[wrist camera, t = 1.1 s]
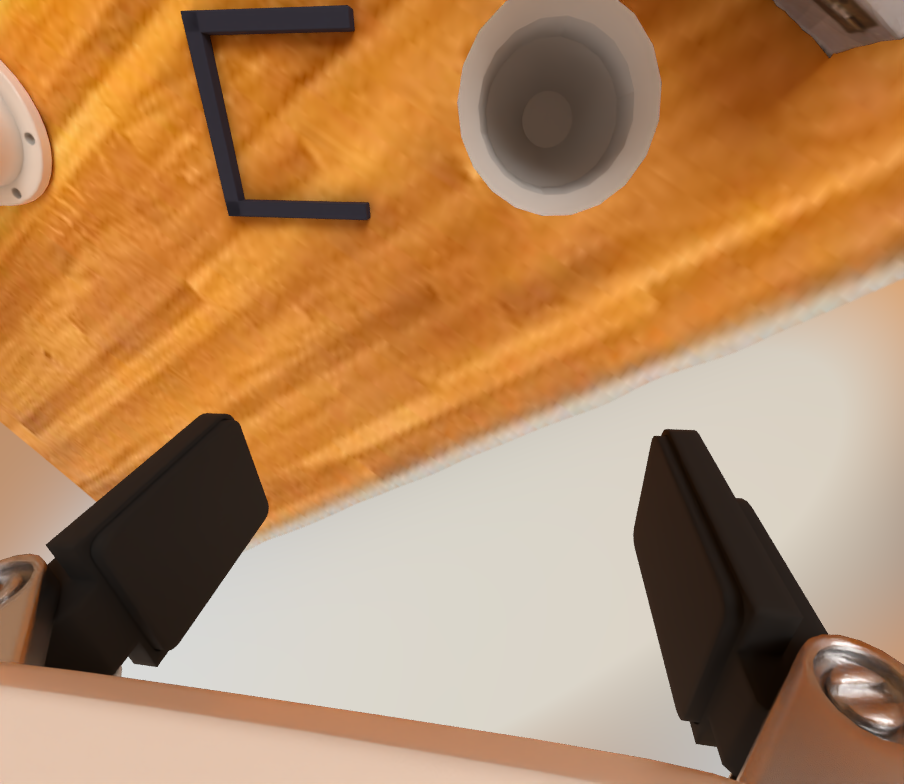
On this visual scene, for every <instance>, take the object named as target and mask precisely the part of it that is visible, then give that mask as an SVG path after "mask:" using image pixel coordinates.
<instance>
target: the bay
mask: <svg viewBox="0 0 904 784" xmlns="http://www.w3.org/2000/svg"><path fill="white" fill-rule="evenodd" d="M181 15H182V20H183V24H184V28H185V32H186V37H187V41H188V45H189V49H190V53H191V58H192V62H193V66H194V70H195V75H196V79H197V83H198V87H199V92H200V96H201V100H202V104H203V109H204V113H205V117H206V121H207V125H208V130H209V134H210V138H211V142H212V147H213V151H214V155H215V159H216V164H217V168H218V172H219V176H220V181H221V185H222V189H223V193H224V198H225V202H226V206H227V210H228V214H229V216H246V217H280V218H314V219H348V220H368V219H370V207H369V203H368V202H327V201H286V200H245V198H244V193H243V188H242V184H241V179H240V174H239V170H238V165H237V161H236V156H235V151H234V147H233V142H232V137H231V133H230V128H229V123H228V119H227V114H226V109H225V105H224V100H223V95H222V91H221V86H220V81H219V77H218V72H217V68H216V63H215V58H214V54H213V49H212V44H211V40H210V35H238V34H276V33H313V32H351V31H354V18H353V9H352V8H350V7H349V6H348V5H341V6H313V7H284V8H255V9H226V10H197V11H196V10H194V11H181Z"/></svg>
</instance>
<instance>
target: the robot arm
mask: <svg viewBox="0 0 904 784" xmlns="http://www.w3.org/2000/svg"><path fill="white" fill-rule="evenodd" d="M51 172H52V155H51V148H50V142H49V139H48V135H47V132H46V128H45V126H44V124H43V121H42V119H41V117H40V114H39V112H38V110H37V108H36V107H35V105H34V103H33V101H32V100H31V98H30V96H29V94H28V93H27V92H26V90H25V89H24V87H23V86H22V85H21V83H20V82H19V80H18V79H17V78H16V76H15V75H14V74H13V73H12V72H11V71H10V70H9V69H8V68H7V67H6V65H5V64H4V63H3V62H2V61H1V60H0V206H15V205H22V204H27V203H29V202H32V201H35V200H36V199H37V198H38V197H40V196H41V195H42V194H43V193H44V191H45V189H46V188H47V186H48V184H49V180H50V177H51ZM268 509H269V505H268V501H267V499H266V496H265V493H264V490H263V488H262V485H261V482H260V479H259V476H258V474H257V471H256V468H255V465H254V463H253V460H252V457H251V454H250V451H249V449H248V446H247V443H246V440H245V437H244V435H243V432H242V429H241V426H240V424H239V423H238V422H237V421H235V420H234V418H233V417H232V416H231V415H228V414H212V413H206V414H202V415H200V416H199V417H197V418H196V419H195V420H194V421H193V422H191V423H190V424H189V425H188V426H187V427H185V428H184V429H183V430H182V431H181V432H180V433H178V434H177V435H176V436H175V437H174V438H172V439H171V440H170V441H169V442H168V443H166V444H165V445H164V446H163V447H162V448H160V449H159V450H158V451H157V452H156V453H155V454H153V455H152V456H151V457H150V458H149V459H147V460H146V461H145V462H144V463H143V464H141V465H140V466H139V467H138V468H137V469H135V470H134V471H133V472H132V473H131V474H129V475H128V476H127V477H126V478H125V479H124V480H122V481H121V482H120V483H119V484H118V485H116V486H115V487H114V488H113V489H112V490H110V491H109V492H108V493H107V494H106V495H104V496H103V497H102V498H101V499H100V500H99V501H97V502H96V503H95V504H94V505H93V506H91V507H90V508H89V509H88V510H87V511H85V512H84V513H83V514H82V515H81V516H80V517H78V518H77V519H76V520H75V521H73V522H72V523H71V524H70V525H69V526H68V527H66V528H65V529H64V530H63V531H62V532H60V533H59V534H58V535H57V536H56V537H54V538H53V539H52V540H51V541H50V542H49V543H48V544H46V546H47V547H48V549H49V550H50V551H51V553H52V554H53V555H54V557H55V559H53V560H52V561H51V562H50V563H49V564H48V565H47V564H46V562H45V561H44V560H43V559H42V558H41V557H40V556H38V555H33V554H24V555H16V556H13V557H10V558H6V559H3V560H0V784H904V665H903V664H902V663H900V662H899V661H897V660H895V659H894V658H892V657H891V656H889V655H888V654H886V653H885V652H883V651H882V650H880V649H877V648H875V647H873V646H871V645H869V644H866V643H864V642H862V641H860V640H856V639H852V638H849V637H845V636H841V635H828V633H827V631H826V630H825V628H824V627H823V625H822V623H821V621H820V620H819V618H818V617H817V615H816V613H815V612H814V610H813V608H812V606H811V605H810V603H809V601H808V600H807V598H806V597H805V595H804V593H803V591H802V590H801V588H800V587H799V585H798V583H797V582H796V580H795V578H794V577H793V575H792V573H791V572H790V570H789V568H788V567H787V565H786V563H785V562H784V560H783V558H782V557H781V555H780V553H779V552H778V550H777V548H776V547H775V545H774V543H773V542H772V540H771V538H770V537H769V535H768V533H767V532H766V530H765V528H764V527H763V525H762V523H761V522H760V520H759V518H758V517H757V515H756V513H755V512H754V510H753V509H752V507H751V506H750V505H749V503H748V502H747V501H745V500H744V499H742V498H735V496H734V495H733V493H732V491H731V489H730V488H729V486H728V484H727V482H726V481H725V479H724V477H723V475H722V474H721V472H720V470H719V468H718V467H717V465H716V463H715V462H714V460H713V458H712V456H711V454H710V453H709V451H708V449H707V447H706V446H705V444H704V442H703V440H702V439H701V437H700V435H699V434H698V432H697V431H695V430H672V429H666V430H664V431H663V433H662V435H661V436H654V437H653V438H652V442H651V446H650V452H649V456H648V461H647V466H646V471H645V476H644V481H643V486H642V491H641V496H640V501H639V506H638V511H637V516H636V521H635V526H634V535H633V536H634V546H635V550H636V554H637V558H638V562H639V566H640V570H641V574H642V578H643V582H644V585H645V589H646V593H647V597H648V601H649V605H650V609H651V613H652V617H653V621H654V625H655V629H656V633H657V636H658V640H659V644H660V648H661V652H662V656H663V660H664V664H665V668H666V672H667V676H668V680H669V683H670V687H671V691H672V695H673V699H674V703H675V707H676V710H677V713H678V716H679V717H680V719H681V720H684V721H690V724H691V727H692V731H693V735H694V739H695V742H696V744H701V745H707V746H714V747H717V749H718V752H719V755H720V758H721V761H722V765H724V766H725V767H726V768H727V769H728V770H729V771H730V772H731V773H730V775H729V778H726V777H722V776H719V775H716V774H713V773H708V772H704V771H700V770H695V769H691V768H687V767H682V766H678V765H673V764H669V763H664V762H660V761H656V760H651V759H646V758H640V757H634V756H629V755H623V754H617V753H611V752H606V751H599V750H594V749H588V748H583V747H577V746H571V745H565V744H560V743H553V742H548V741H542V740H537V739H530V738H523V737H517V736H511V735H505V734H498V733H492V732H485V731H479V730H472V729H466V728H459V727H452V726H446V725H439V724H434V723H427V722H421V721H414V720H408V719H401V718H395V717H388V716H382V715H375V714H369V713H362V712H355V711H348V710H342V709H335V708H328V707H322V706H315V705H309V704H301V703H295V702H288V701H282V700H275V699H268V698H262V697H255V696H248V695H241V694H235V693H228V692H221V691H214V690H208V689H201V688H194V687H187V686H180V685H173V684H165V683H158V682H152V681H145V680H138V679H131V678H124V677H121V671H122V667H121V665H122V664H123V662H124V661H125V660H126V658H127V657H128V656H129V658H130V659H131V660H132V662H133V663H134V664H140V665H147V666H155V667H158V665H159V664H160V662H161V661H162V659H163V658H164V657H165V655H166V654H167V652H168V651H169V650H172V649H173V648H174V647H176V646H177V645H178V644H179V642H180V641H181V639H182V638H183V637H184V635H185V634H186V632H187V631H188V630H189V628H190V627H191V625H192V624H193V622H194V621H195V619H196V618H197V617H198V615H199V614H200V612H201V611H202V609H203V608H204V607H205V605H206V603H207V602H208V601H209V599H210V598H211V596H212V595H213V593H214V592H215V591H216V589H217V588H218V586H219V585H220V583H221V582H222V581H223V579H224V578H225V576H226V575H227V573H228V572H229V571H230V569H231V568H232V566H233V565H234V563H235V562H236V560H237V559H238V557H239V556H240V555H241V553H242V552H243V550H244V549H245V548H246V546H247V545H248V543H249V542H250V540H251V539H252V537H253V536H254V535H255V533H256V532H257V530H258V529H259V527H260V526H261V525H262V523H263V522H264V520H265V519H266V517H267V514H268Z"/></svg>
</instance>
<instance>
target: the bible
mask: <svg viewBox="0 0 904 784" xmlns="http://www.w3.org/2000/svg"><path fill="white" fill-rule="evenodd" d="M773 1H774V2H775V4H776V6H778V7H779V8H781V9H783V10H784V11H785V12H786V13H787V14H788V15H789V16H790V17H791V18H792V19H793V20H794V21H795V22H796V23H797V24H798V25H799V26H800V27H801V28H802V30H803V31H805V32H806V33H808V34H809V35H811V36H812V37H813V39H814V40H815V41H816V42H817V43H818V44H819V46H820V47H821V48H822V49H823V51H824V52H825V53H826V54H827V56H828V57H829V58H830V57H831V56H832V54H833V53H840V52H843V51H846V50H849V49H852V48H855V47H859V46H864V45H869V44H873V43H876V42H880V41H888V40H900V39H903V38H904V0H773Z"/></svg>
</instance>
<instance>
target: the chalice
mask: <svg viewBox="0 0 904 784" xmlns="http://www.w3.org/2000/svg"><path fill="white" fill-rule="evenodd" d="M660 98H661V78H660V73H659V69H658V64H657V60H656V55H655V51H654V46H653V44H652V42H651V41H650V39H649V37H648V36H647V34H646V32H645V31H644V29H643V27H642V25H641V24H640V22H639V20H638V19H637V17H636V15H635V14H634V13H633V12H632V11H631V10H629V9H628V8H627V7H626V6H625V5H623V4H622V3H621V2H620V1H619V0H508V1H506V2H505V3H504V4H503V5H502V6H501V7H500V8H499V9H498V10H497V11H496V13H495V14H494V15H493V16H492V17H491V18H490V19H489V20H488V21H487V22H486V24H485V25H484V26H483V27H482V28H481V29H480V30H479V32H478V34H477V36H476V39H475V41H474V43H473V45H472V47H471V49H470V52H469V54H468V56H467V58H466V60H465V62H464V65H463V69H462V76H461V82H460V89H459V95H458V102H457V103H458V112H459V121H460V129H461V137H462V140H463V142H464V145H465V147H466V150H467V152H468V155H469V157H470V160H471V162H472V165H473V167H474V169H475V170H476V171H477V172H478V174H479V175H480V176H481V178H482V179H483V180H484V181H485V183H486V184H487V185H488V186H489V188H490V189H491V190H492V191H493V192H494V193H496V194H497V195H498V196H500V197H501V198H503V199H504V200H506V201H507V202H508V203H510V204H511V205H513V206H514V207H516V208H519V209H522V210H525V211H529V212H532V213H535V214H538V215H541V216H550V215H572V214H575V213H578V212H580V211H583V210H586V209H589V208H591V207H594V206H597V205H600V204H601V203H602V202H603V201H605V200H606V199H607V198H609V197H610V196H611V195H613V194H614V193H615V192H616V191H618V190H619V189H620V188H622V187H623V186H624V185H626V183H627V182H628V180H629V179H630V178H631V176H632V175H633V173H634V172H635V171H636V169H637V168H638V167H639V165H640V164H641V162H642V161H643V160H644V158H645V157H646V155H647V152H648V149H649V147H650V144H651V141H652V138H653V136H654V133H655V130H656V127H657V125H658V122H659V112H660Z"/></svg>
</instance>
